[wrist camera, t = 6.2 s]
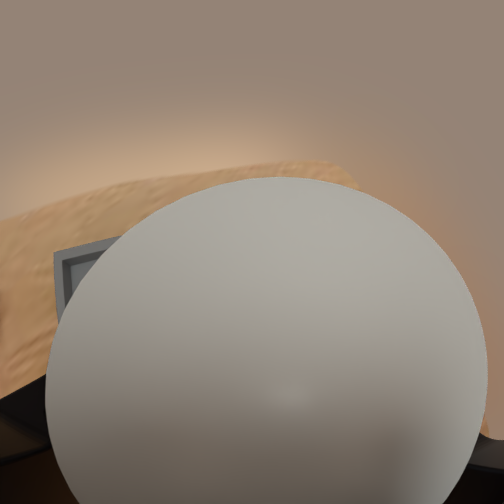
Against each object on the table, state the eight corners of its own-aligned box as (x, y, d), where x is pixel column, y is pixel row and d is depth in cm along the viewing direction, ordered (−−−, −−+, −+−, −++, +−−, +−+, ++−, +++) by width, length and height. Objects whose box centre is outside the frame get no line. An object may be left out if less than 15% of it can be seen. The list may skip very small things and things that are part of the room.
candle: (295, 398, 14) (488, 483, 2) (195, 421, 13) (148, 604, 1) (271, 304, 16) (424, 166, 4) (172, 324, 15) (26, 226, 3)
